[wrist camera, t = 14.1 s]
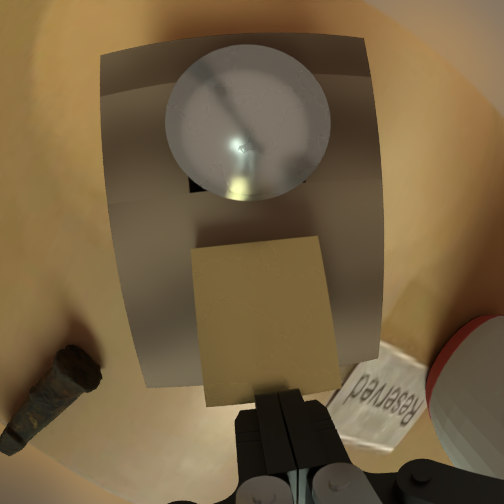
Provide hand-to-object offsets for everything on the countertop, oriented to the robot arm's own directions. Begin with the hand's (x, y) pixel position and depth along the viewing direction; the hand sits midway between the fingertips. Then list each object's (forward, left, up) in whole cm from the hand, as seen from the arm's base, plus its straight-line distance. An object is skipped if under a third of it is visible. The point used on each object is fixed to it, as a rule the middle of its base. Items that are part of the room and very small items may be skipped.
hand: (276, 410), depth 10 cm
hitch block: (-6, 0, -13) cm, 14 cm away
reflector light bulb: (-10, 0, -12) cm, 15 cm away
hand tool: (+10, -20, -13) cm, 26 cm away
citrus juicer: (+11, +22, -13) cm, 28 cm away
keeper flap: (-2, 0, -3) cm, 4 cm away
